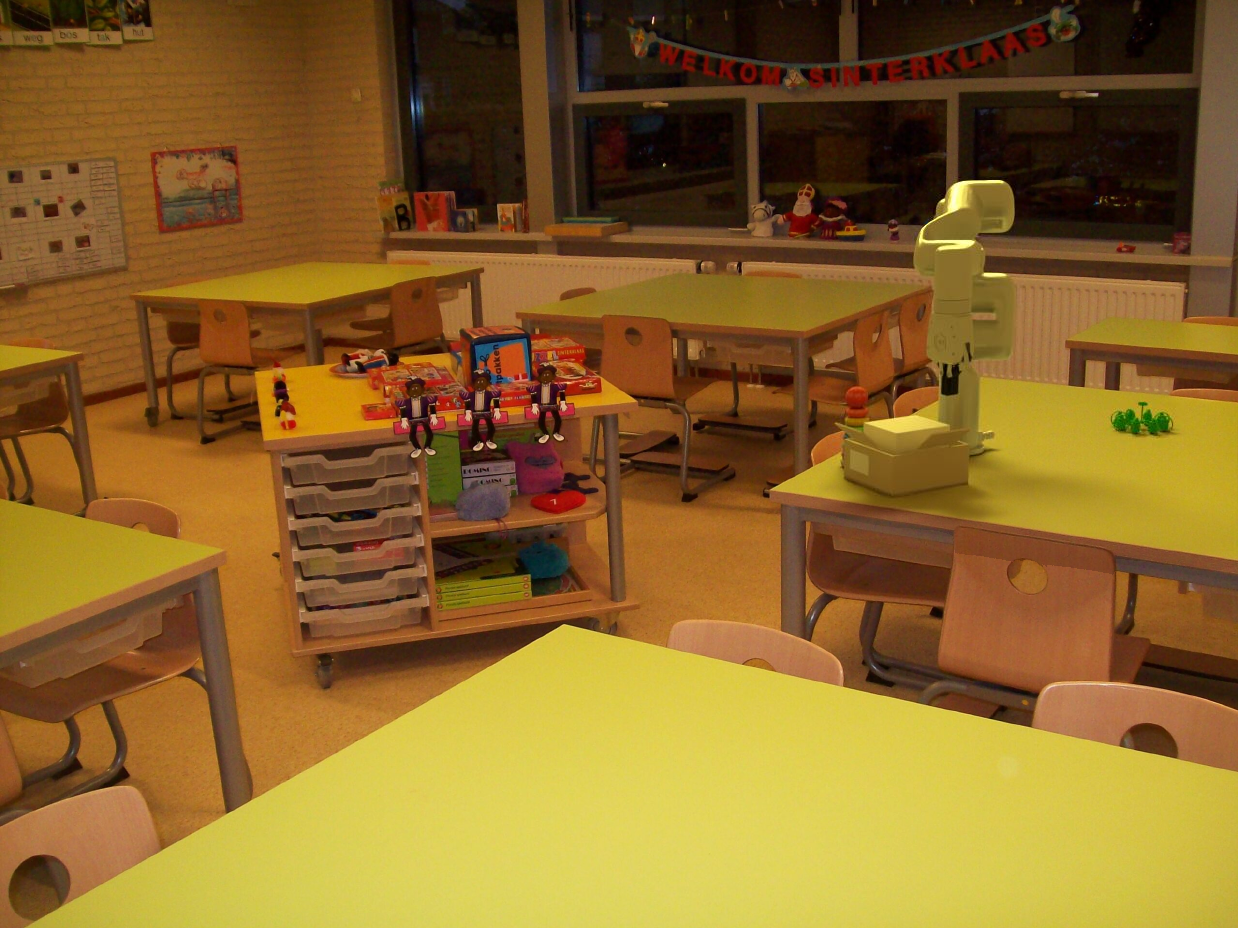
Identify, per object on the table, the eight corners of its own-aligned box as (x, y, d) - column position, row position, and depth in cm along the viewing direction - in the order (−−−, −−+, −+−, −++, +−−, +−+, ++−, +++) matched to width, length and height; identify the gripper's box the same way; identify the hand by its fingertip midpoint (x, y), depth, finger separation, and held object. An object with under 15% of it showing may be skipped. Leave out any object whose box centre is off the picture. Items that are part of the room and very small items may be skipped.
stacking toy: (873, 461, 288) (874, 383, 283) (876, 470, 280) (878, 390, 275) (839, 462, 288) (839, 384, 284) (841, 470, 281) (842, 390, 276)
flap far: (855, 438, 269) (854, 440, 269) (835, 422, 266) (834, 423, 266) (882, 448, 260) (881, 449, 260) (862, 431, 257) (861, 432, 257)
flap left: (915, 448, 259) (916, 449, 258) (931, 433, 253) (932, 435, 253) (953, 442, 262) (954, 443, 262) (970, 427, 257) (971, 429, 256)
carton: (917, 465, 283) (919, 410, 280) (970, 483, 266) (972, 425, 263) (842, 477, 275) (842, 421, 272) (891, 497, 259) (892, 438, 255)
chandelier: (1164, 439, 299) (1166, 411, 297) (1101, 432, 308) (1103, 405, 306) (1180, 427, 310) (1182, 400, 309) (1119, 420, 319) (1120, 394, 318)
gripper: (914, 304, 254) (912, 390, 260) (961, 313, 241) (958, 404, 246) (944, 300, 257) (941, 385, 262) (991, 309, 244) (987, 399, 249)
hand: (949, 394), depth 254 cm, fingers closed
